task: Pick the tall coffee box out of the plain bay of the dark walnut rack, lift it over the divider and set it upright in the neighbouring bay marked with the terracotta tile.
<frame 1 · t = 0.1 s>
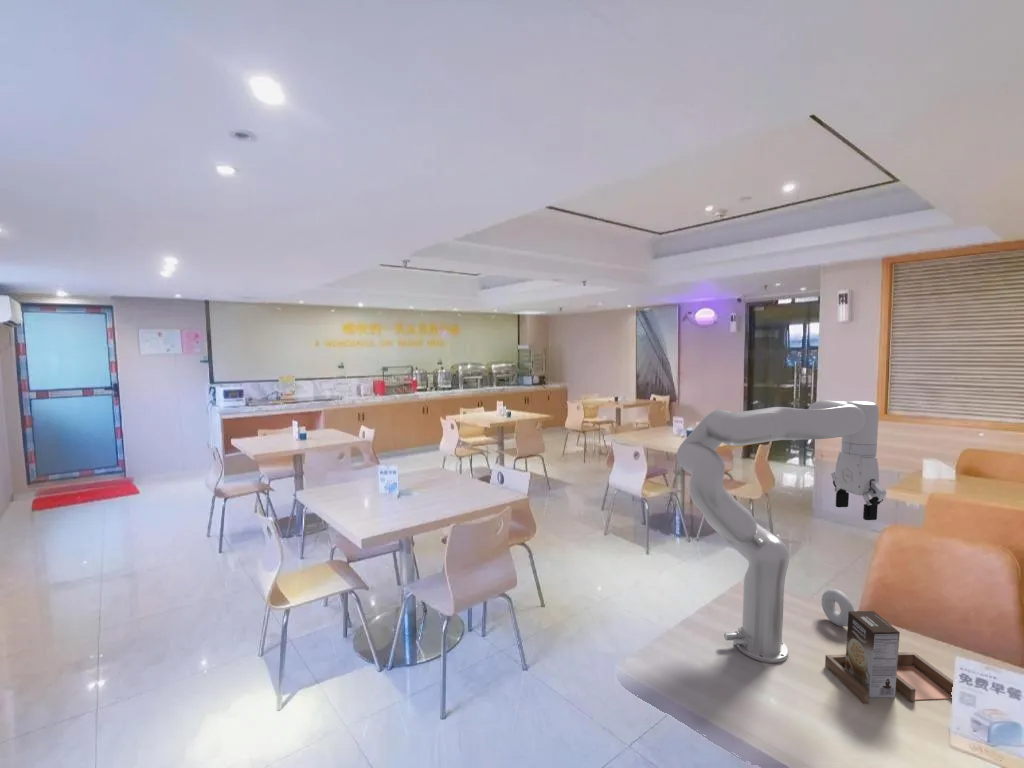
hand: (855, 513, 130), 37 cm above the table, tool pointing down, fingers open, 9 cm apart
donut: (836, 624, 144), on the table
coffee box: (869, 685, 119), on the table
rack: (891, 683, 119), on the table
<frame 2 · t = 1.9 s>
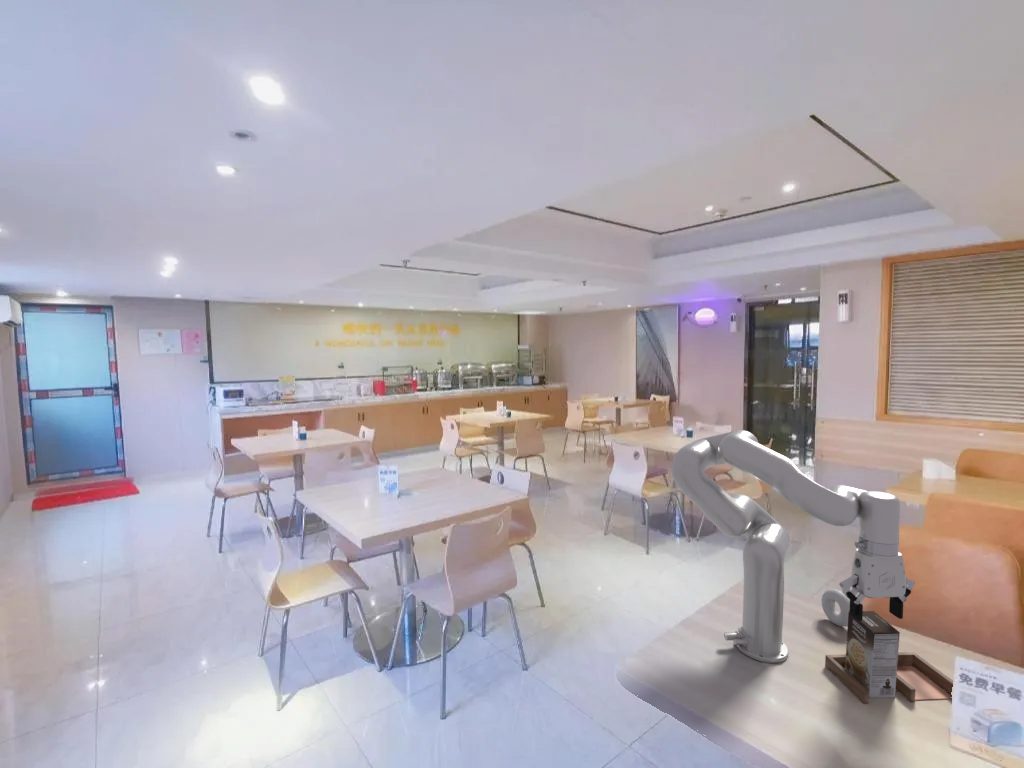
hand: (876, 616, 117), 17 cm above the table, tool pointing down, fingers open, 9 cm apart
nothing on the table moved.
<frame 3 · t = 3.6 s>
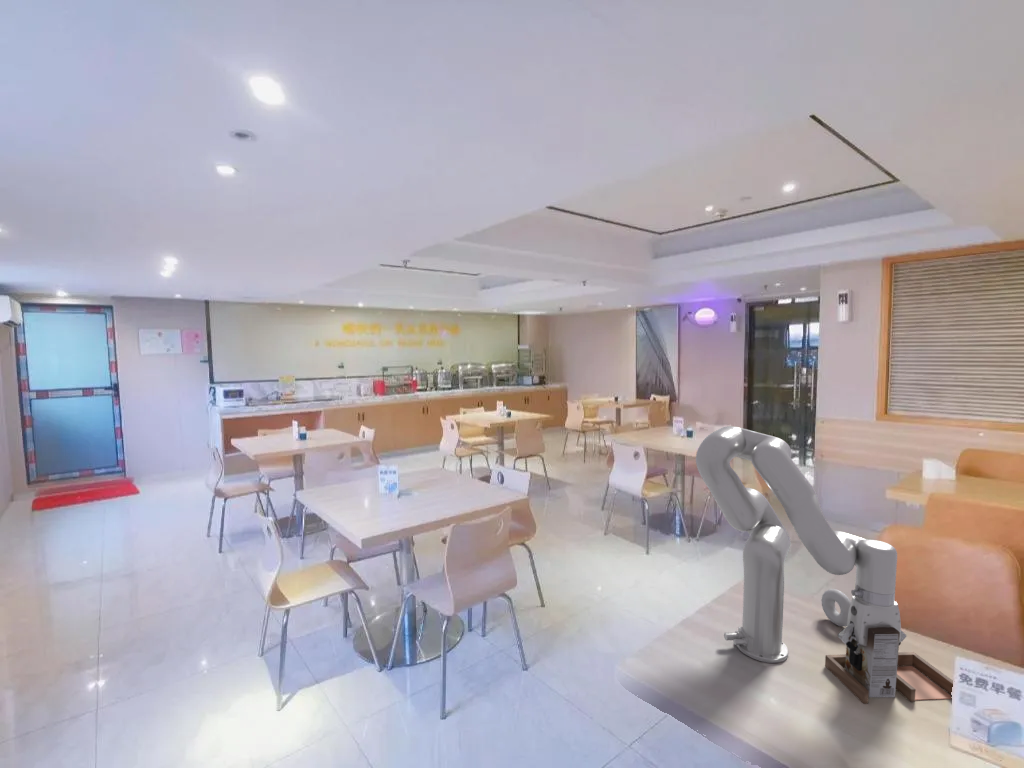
hand: (870, 665, 118), 5 cm above the table, tool pointing down, fingers closed on coffee box, 6 cm apart
coffee box: (869, 685, 119), on the table, touching gripper
everything else where it was.
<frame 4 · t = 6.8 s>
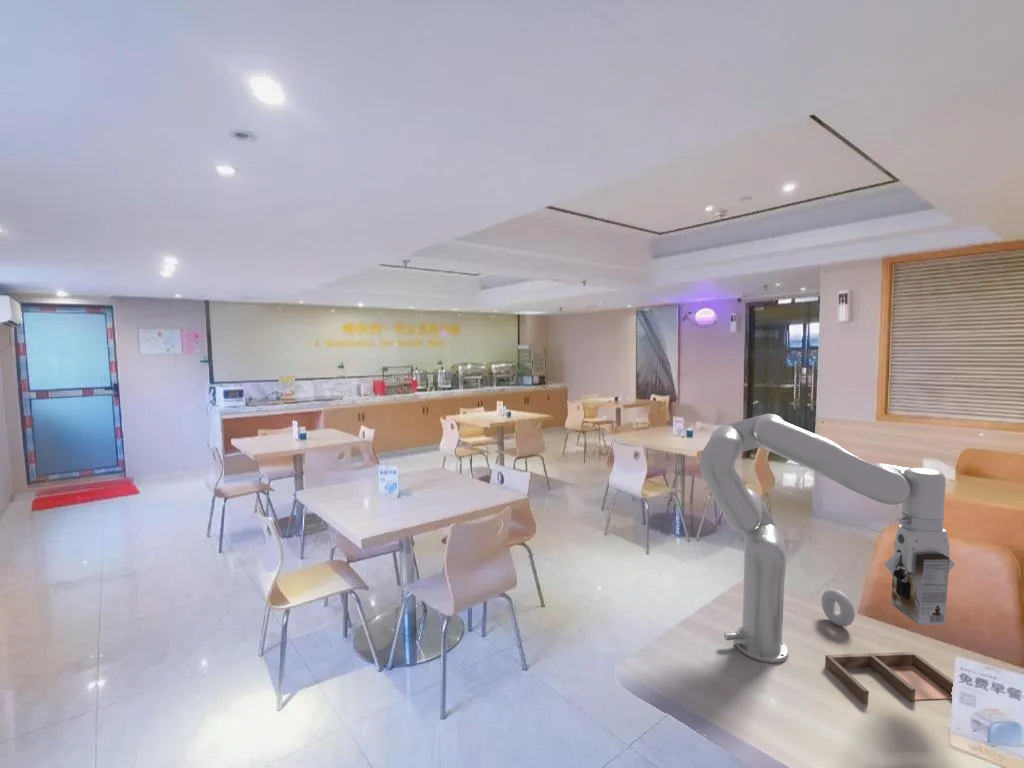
hand: (918, 595, 117), 22 cm above the table, tool pointing down, fingers closed on coffee box, 6 cm apart
coffee box: (917, 615, 117), point 17 cm above the table, touching gripper
everything else where it was.
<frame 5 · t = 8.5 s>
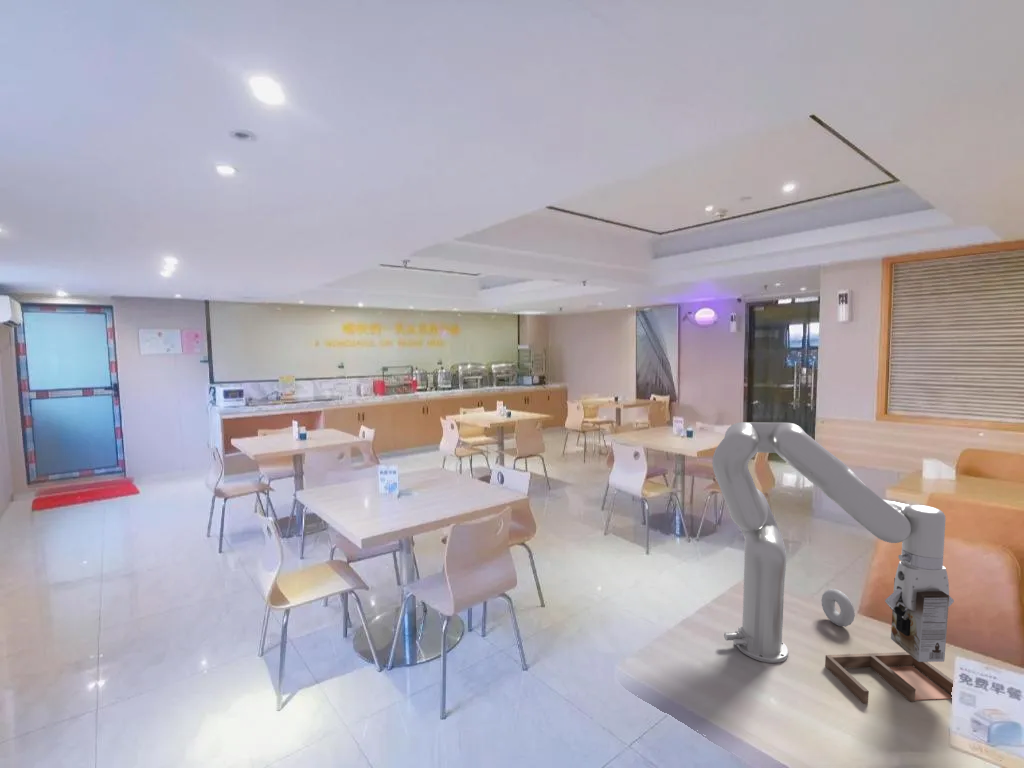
hand: (917, 631, 118), 13 cm above the table, tool pointing down, fingers closed on coffee box, 6 cm apart
coffee box: (916, 651, 118), point 8 cm above the table, touching gripper
everything else where it was.
when the fingers open (7 cm above the table, at t = 10.1 s): coffee box drops 2 cm, resting on rack.
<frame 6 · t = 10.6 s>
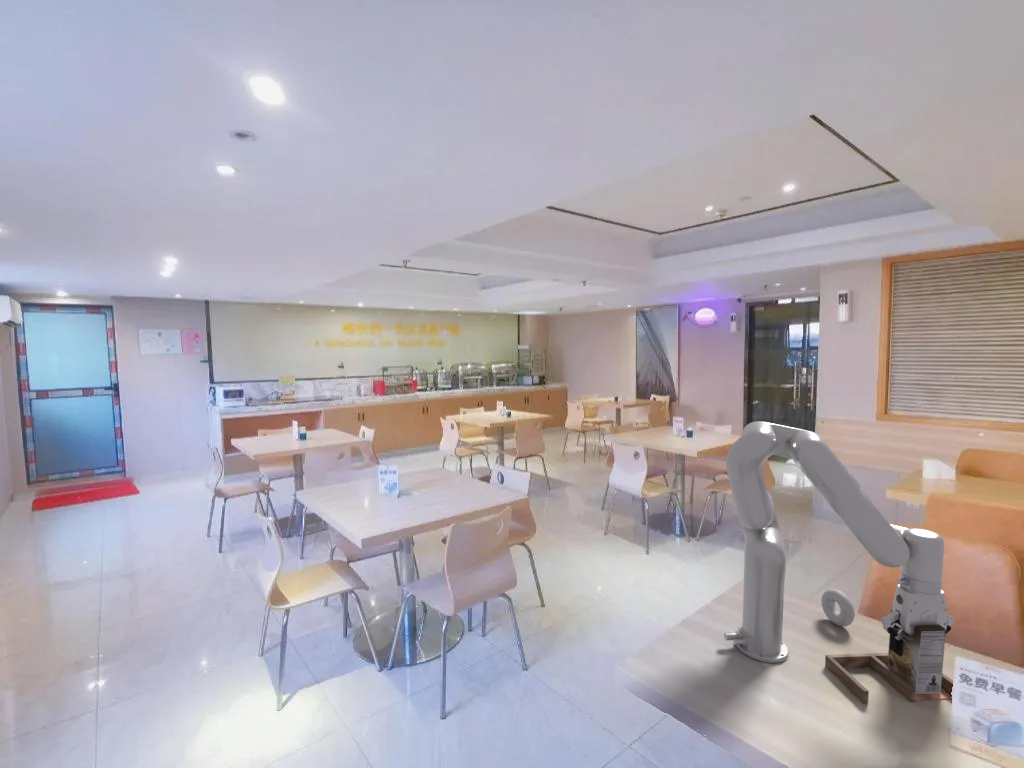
hand: (915, 651, 118), 8 cm above the table, tool pointing down, fingers open, 9 cm apart
coffee box: (913, 682, 119), resting on rack
everything else where it was.
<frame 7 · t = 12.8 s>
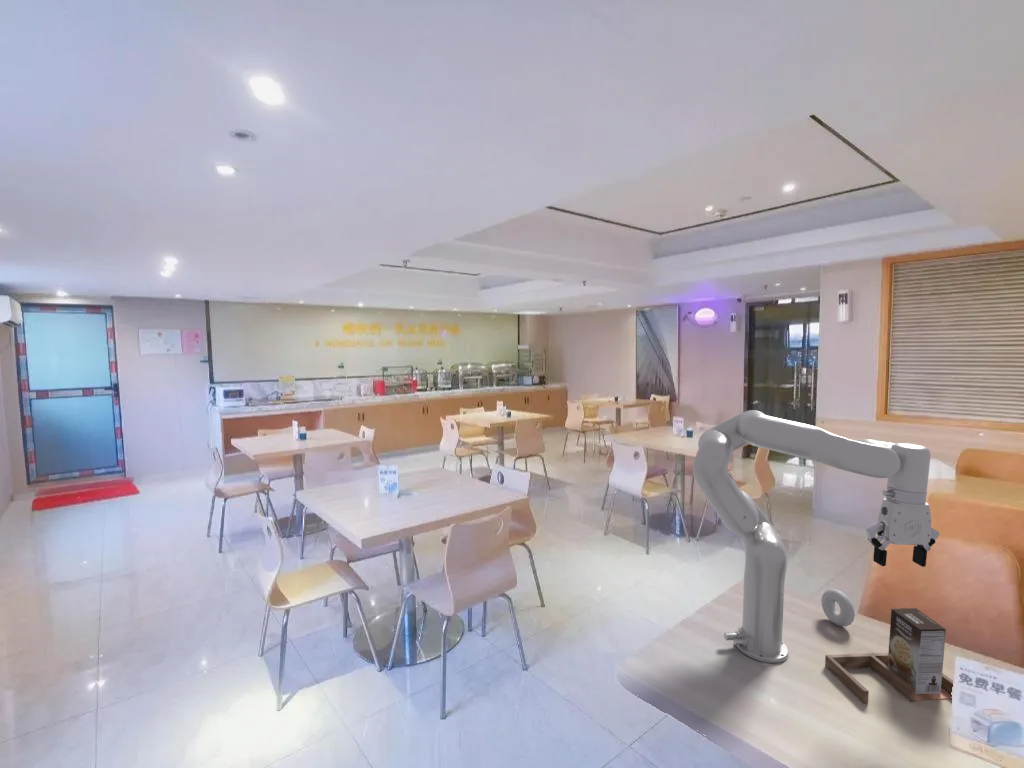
hand: (899, 563, 121), 28 cm above the table, tool pointing down, fingers open, 9 cm apart
nothing on the table moved.
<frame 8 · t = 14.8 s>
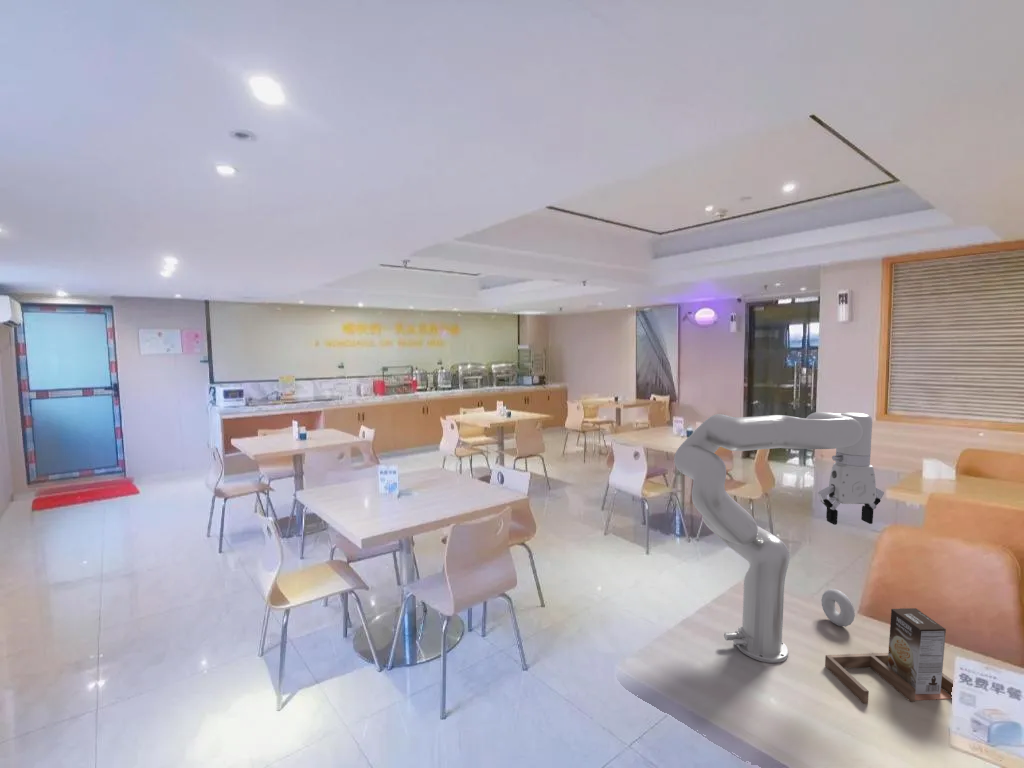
hand: (849, 522, 133), 33 cm above the table, tool pointing down, fingers open, 9 cm apart
nothing on the table moved.
at the end: coffee box 0.1 cm from the target spot on the rack, point 0.0 cm above the rack's base; coffee box tilted 0°; the gripper is holding nothing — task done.
